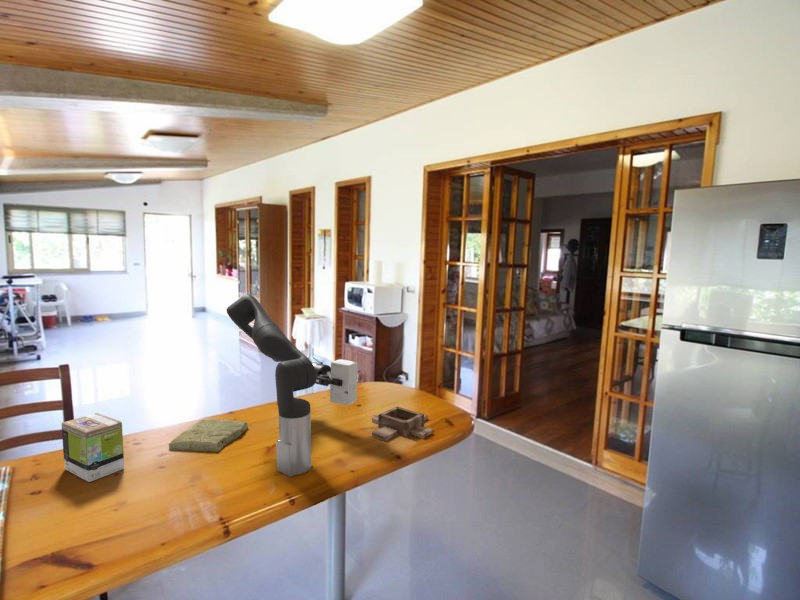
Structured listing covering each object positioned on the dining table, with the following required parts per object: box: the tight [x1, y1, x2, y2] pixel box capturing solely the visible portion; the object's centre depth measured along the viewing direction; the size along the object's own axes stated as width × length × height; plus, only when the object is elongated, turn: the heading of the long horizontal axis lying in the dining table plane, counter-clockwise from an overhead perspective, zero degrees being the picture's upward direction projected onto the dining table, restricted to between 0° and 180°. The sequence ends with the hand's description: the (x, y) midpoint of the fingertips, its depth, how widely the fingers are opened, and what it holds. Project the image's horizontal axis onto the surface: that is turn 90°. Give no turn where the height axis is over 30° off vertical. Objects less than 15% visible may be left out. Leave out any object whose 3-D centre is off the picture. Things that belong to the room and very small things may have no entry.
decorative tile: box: [168, 418, 249, 453], centre depth 150 cm, size 19×20×4 cm
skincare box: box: [329, 358, 359, 406], centre depth 154 cm, size 8×6×15 cm
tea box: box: [61, 412, 125, 483], centre depth 127 cm, size 15×10×15 cm
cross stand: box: [371, 406, 433, 442], centre depth 160 cm, size 26×24×5 cm
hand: (348, 381), depth 152 cm, fingers closed on skincare box, 6 cm apart
